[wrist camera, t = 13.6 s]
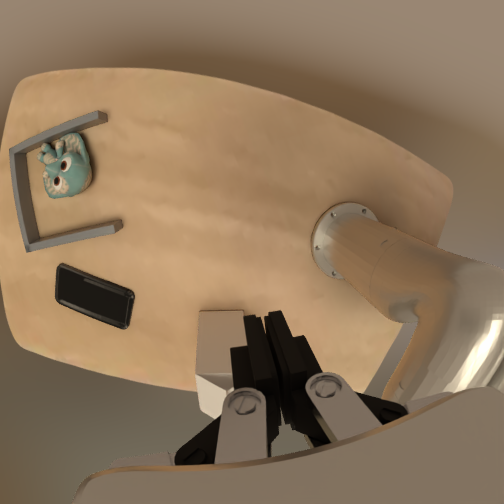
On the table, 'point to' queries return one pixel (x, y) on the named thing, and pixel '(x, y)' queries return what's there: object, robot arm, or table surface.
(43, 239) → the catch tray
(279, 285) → the table surface
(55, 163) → the stuffed animal
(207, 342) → the milk carton
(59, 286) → the phone
